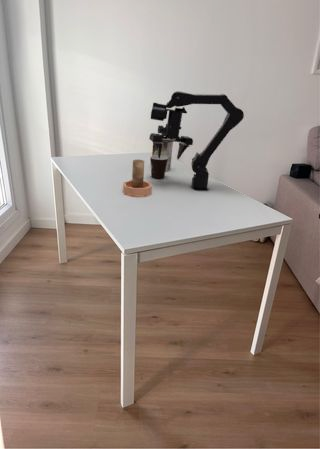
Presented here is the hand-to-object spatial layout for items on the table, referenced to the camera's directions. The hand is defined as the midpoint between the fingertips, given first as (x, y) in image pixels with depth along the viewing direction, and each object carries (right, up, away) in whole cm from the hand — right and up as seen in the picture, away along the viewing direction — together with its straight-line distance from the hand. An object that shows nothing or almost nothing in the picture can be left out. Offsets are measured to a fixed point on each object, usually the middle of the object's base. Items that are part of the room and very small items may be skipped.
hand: (168, 158), depth 144 cm
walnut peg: (-14, -15, -6) cm, 21 cm away
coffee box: (-3, 0, +30) cm, 31 cm away
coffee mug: (-5, -5, +18) cm, 19 cm away
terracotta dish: (-14, -15, -5) cm, 21 cm away
